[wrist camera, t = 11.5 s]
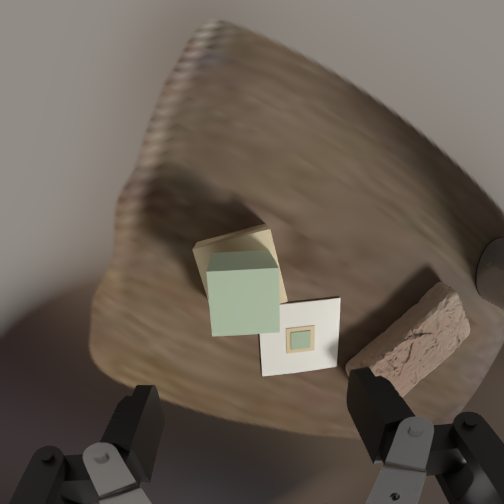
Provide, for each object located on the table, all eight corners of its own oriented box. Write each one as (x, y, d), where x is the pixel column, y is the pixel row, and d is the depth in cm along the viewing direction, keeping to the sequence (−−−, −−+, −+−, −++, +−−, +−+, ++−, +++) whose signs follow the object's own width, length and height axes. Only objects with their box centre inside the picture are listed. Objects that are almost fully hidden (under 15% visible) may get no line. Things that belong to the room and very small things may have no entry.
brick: (438, 276, 34) (460, 288, 29) (457, 319, 35) (476, 332, 31) (338, 362, 35) (350, 383, 31) (367, 396, 37) (380, 417, 32)
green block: (268, 249, 27) (278, 267, 21) (270, 302, 28) (279, 332, 23) (211, 252, 27) (206, 271, 21) (215, 306, 28) (212, 336, 22)
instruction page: (339, 297, 33) (340, 298, 32) (336, 365, 35) (337, 367, 34) (257, 306, 32) (258, 307, 32) (262, 375, 34) (262, 377, 34)
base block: (265, 223, 31) (270, 228, 27) (281, 287, 32) (287, 301, 29) (197, 241, 31) (192, 249, 27) (216, 304, 32) (214, 320, 28)
